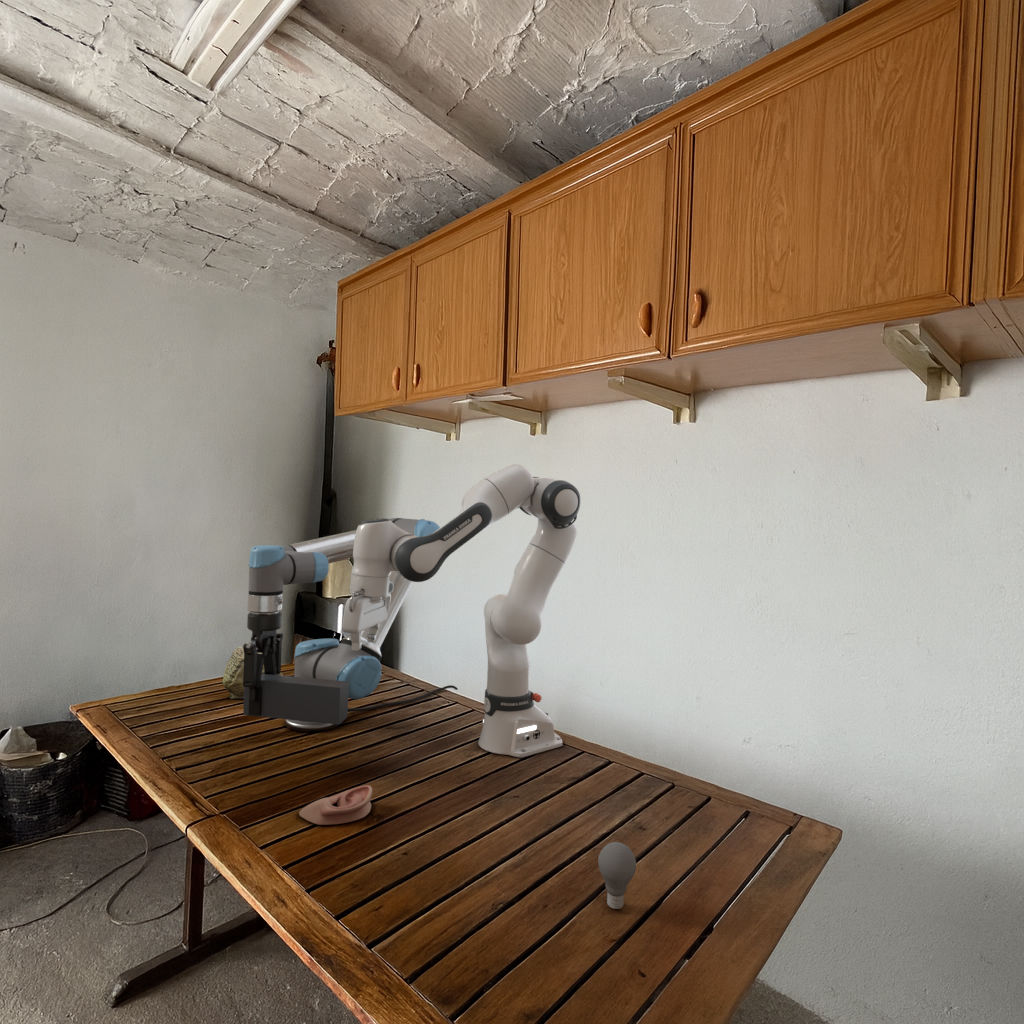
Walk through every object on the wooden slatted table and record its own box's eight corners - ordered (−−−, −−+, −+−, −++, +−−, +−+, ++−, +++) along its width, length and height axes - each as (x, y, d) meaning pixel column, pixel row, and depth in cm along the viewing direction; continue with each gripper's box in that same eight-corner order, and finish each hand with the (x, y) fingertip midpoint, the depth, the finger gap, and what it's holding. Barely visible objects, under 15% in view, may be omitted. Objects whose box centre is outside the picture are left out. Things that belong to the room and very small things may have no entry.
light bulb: (592, 894, 104) (595, 834, 104) (628, 894, 104) (631, 834, 104) (600, 919, 98) (603, 855, 98) (638, 918, 99) (641, 855, 98)
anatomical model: (291, 800, 123) (320, 775, 134) (290, 820, 123) (320, 794, 134) (354, 810, 120) (379, 784, 132) (353, 830, 121) (378, 803, 132)
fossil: (218, 695, 195) (220, 647, 195) (278, 685, 208) (279, 640, 207) (228, 703, 189) (230, 653, 188) (289, 692, 201) (290, 645, 201)
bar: (243, 715, 146) (244, 678, 146) (254, 708, 151) (256, 673, 151) (338, 724, 143) (340, 687, 143) (347, 717, 148) (348, 681, 147)
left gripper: (258, 619, 138) (255, 725, 139) (298, 606, 156) (295, 700, 157) (227, 617, 139) (223, 722, 140) (270, 604, 157) (267, 697, 158)
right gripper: (365, 593, 138) (359, 656, 138) (396, 583, 158) (391, 639, 158) (338, 590, 139) (332, 653, 139) (372, 581, 159) (367, 636, 159)
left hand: (261, 710), depth 148 cm, fingers closed on bar, 5 cm apart
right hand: (364, 645), depth 149 cm, fingers open, 8 cm apart
